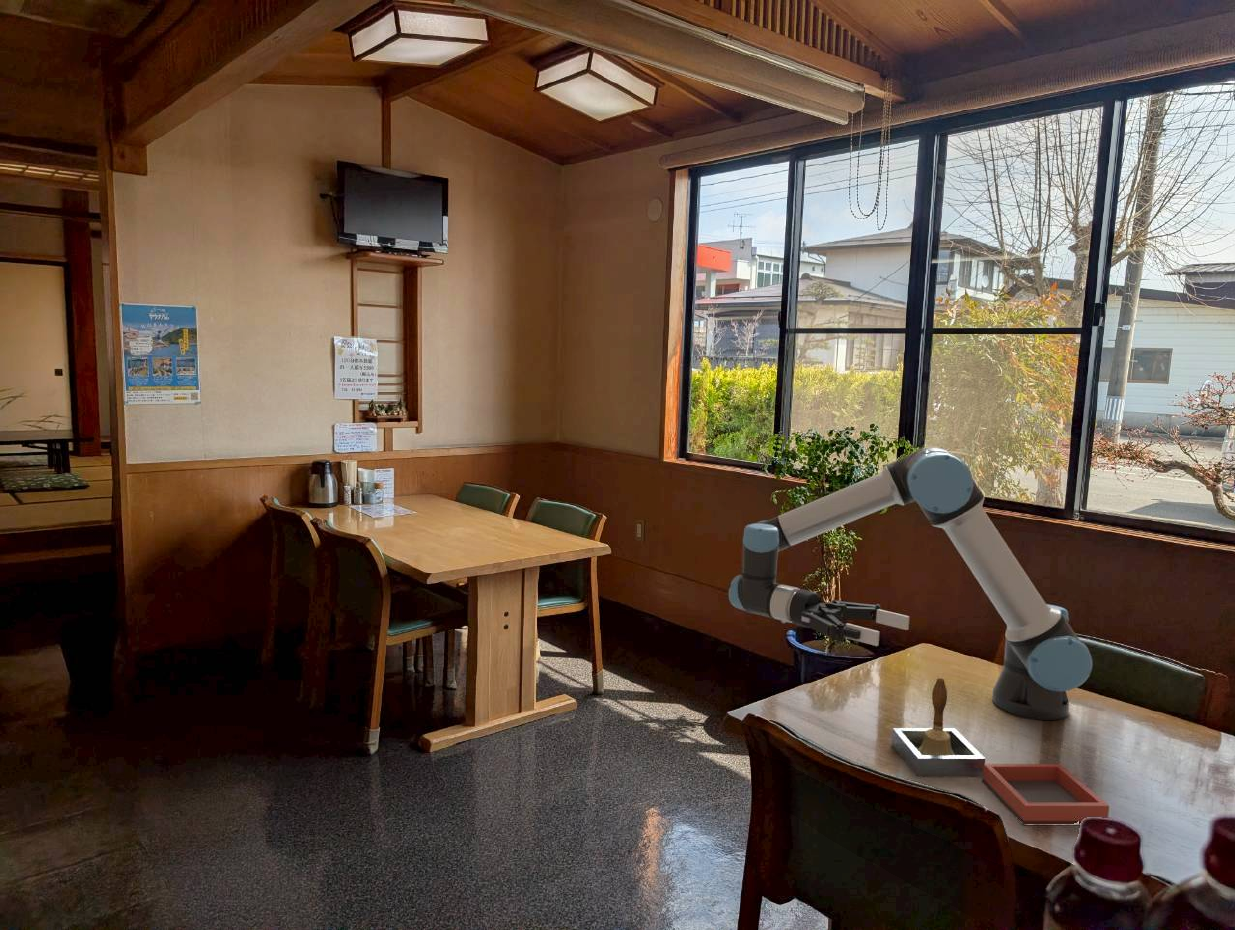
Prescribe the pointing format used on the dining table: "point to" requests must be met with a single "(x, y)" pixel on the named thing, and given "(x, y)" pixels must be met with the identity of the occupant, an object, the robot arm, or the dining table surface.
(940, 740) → the hand bell
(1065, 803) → the tray
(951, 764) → the grey square open box
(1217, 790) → the dining table surface
